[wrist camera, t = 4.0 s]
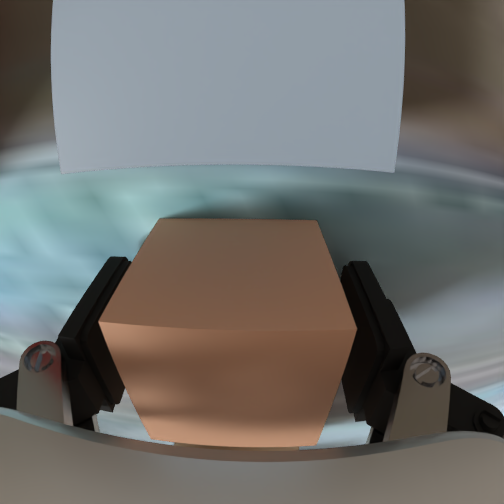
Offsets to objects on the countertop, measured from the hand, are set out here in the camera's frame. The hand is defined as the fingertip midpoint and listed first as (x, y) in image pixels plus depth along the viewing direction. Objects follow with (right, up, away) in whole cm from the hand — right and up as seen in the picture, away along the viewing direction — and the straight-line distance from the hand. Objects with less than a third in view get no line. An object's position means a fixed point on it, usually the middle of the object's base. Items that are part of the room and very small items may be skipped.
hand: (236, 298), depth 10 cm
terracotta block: (0, 0, +1) cm, 1 cm away
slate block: (0, +7, -3) cm, 8 cm away
